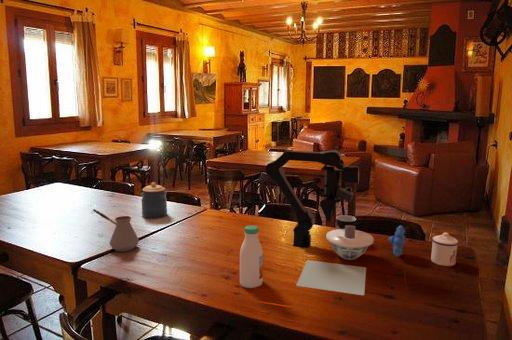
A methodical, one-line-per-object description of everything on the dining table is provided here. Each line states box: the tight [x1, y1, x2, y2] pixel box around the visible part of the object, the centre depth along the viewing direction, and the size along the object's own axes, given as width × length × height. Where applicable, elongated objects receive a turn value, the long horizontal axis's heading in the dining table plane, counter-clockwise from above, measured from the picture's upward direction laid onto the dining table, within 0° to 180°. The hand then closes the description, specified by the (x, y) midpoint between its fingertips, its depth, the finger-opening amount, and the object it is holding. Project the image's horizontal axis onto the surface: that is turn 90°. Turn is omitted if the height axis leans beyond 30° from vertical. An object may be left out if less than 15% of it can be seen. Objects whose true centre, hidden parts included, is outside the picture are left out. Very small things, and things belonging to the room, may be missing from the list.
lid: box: [325, 225, 374, 248], centre depth 159 cm, size 18×18×5 cm
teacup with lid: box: [430, 232, 459, 267], centre depth 158 cm, size 12×9×12 cm
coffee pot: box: [90, 208, 140, 253], centre depth 169 cm, size 21×12×15 cm, turn 69°
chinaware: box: [330, 242, 369, 261], centre depth 160 cm, size 15×15×8 cm
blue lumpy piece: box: [387, 225, 407, 258], centre depth 163 cm, size 12×7×12 cm, turn 152°
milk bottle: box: [239, 225, 264, 289], centre depth 136 cm, size 8×8×20 cm
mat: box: [295, 259, 367, 296], centre depth 143 cm, size 22×22×1 cm
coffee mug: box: [335, 214, 357, 230], centre depth 181 cm, size 12×9×10 cm
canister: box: [140, 181, 168, 219], centre depth 212 cm, size 13×13×18 cm
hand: (330, 218), depth 167 cm, fingers open, 9 cm apart
